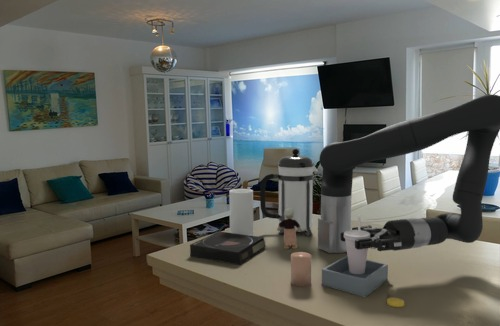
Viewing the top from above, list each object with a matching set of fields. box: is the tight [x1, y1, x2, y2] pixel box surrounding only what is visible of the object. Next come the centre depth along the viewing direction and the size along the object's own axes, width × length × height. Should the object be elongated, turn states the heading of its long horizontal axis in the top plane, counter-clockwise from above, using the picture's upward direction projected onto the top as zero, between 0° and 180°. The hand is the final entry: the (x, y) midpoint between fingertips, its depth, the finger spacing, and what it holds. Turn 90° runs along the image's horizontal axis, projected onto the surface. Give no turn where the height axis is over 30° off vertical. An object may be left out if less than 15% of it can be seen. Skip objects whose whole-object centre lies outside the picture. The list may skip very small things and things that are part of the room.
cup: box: [228, 188, 254, 236], centre depth 145 cm, size 8×8×16 cm
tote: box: [321, 255, 389, 298], centre depth 103 cm, size 13×11×4 cm
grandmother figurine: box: [276, 208, 303, 249], centre depth 131 cm, size 8×4×13 cm, turn 94°
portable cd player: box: [189, 231, 266, 266], centre depth 127 cm, size 16×17×4 cm
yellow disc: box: [386, 297, 405, 308], centre depth 91 cm, size 4×4×1 cm
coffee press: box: [259, 148, 319, 237], centre depth 148 cm, size 17×16×30 cm
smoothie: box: [343, 215, 370, 274], centre depth 102 cm, size 6×6×14 cm
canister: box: [290, 251, 312, 287], centre depth 103 cm, size 5×5×7 cm
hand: (348, 240), depth 101 cm, fingers closed on smoothie, 6 cm apart
